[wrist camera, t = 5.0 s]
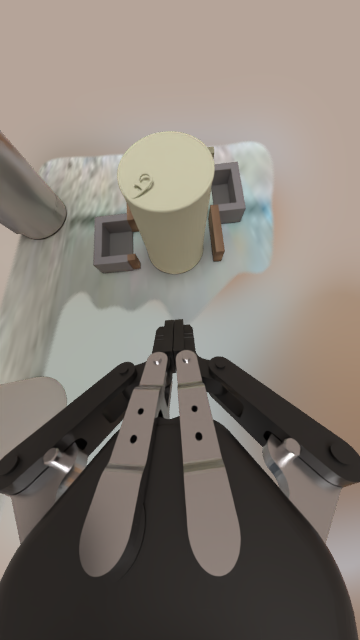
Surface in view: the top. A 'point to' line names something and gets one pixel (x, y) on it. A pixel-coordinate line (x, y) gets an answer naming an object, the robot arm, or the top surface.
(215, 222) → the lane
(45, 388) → the pill bottle
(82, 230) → the top surface
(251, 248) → the top surface
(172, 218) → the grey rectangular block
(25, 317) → the top surface
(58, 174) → the top surface
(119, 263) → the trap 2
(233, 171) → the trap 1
